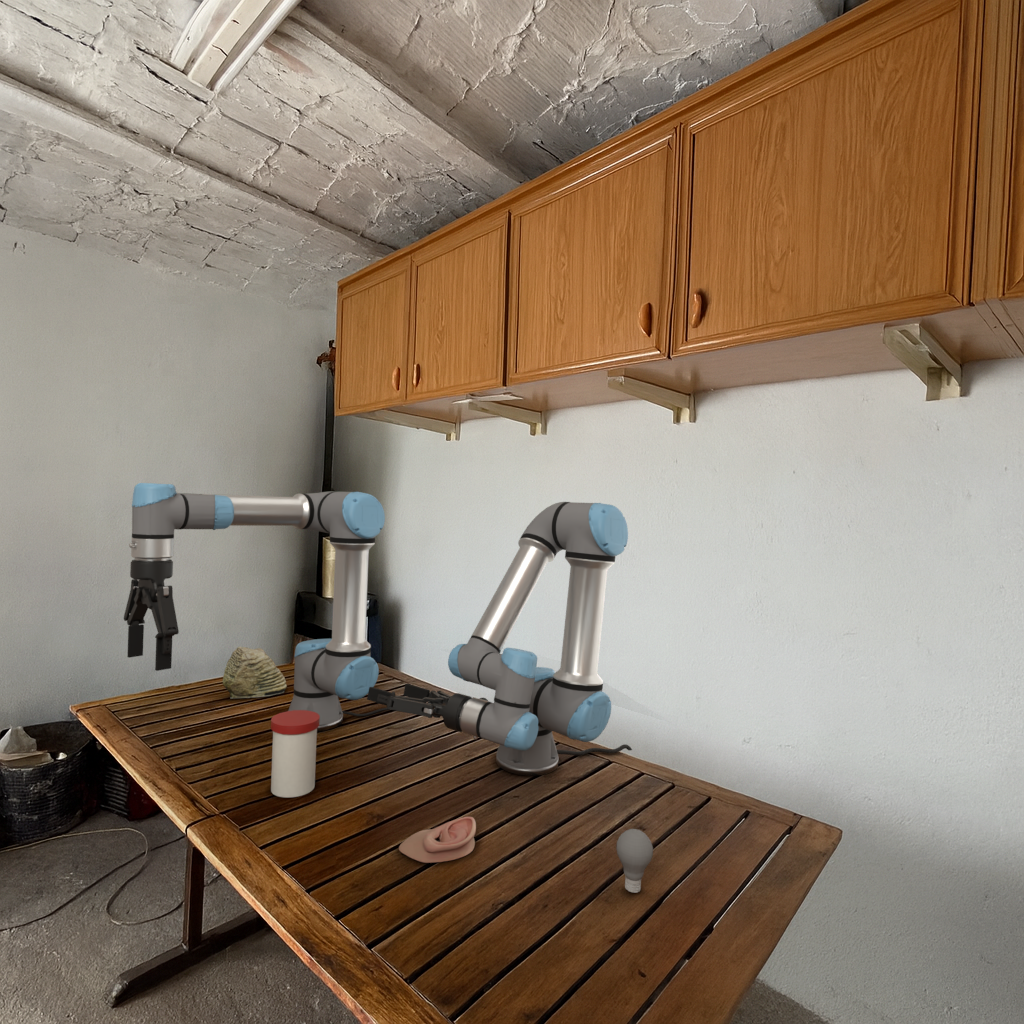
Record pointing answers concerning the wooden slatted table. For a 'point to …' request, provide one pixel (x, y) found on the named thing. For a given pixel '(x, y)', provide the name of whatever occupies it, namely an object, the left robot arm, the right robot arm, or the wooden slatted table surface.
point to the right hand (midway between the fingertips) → (387, 691)
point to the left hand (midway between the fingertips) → (148, 662)
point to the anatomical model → (441, 842)
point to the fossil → (252, 674)
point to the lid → (295, 722)
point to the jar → (293, 764)
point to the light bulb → (634, 857)
